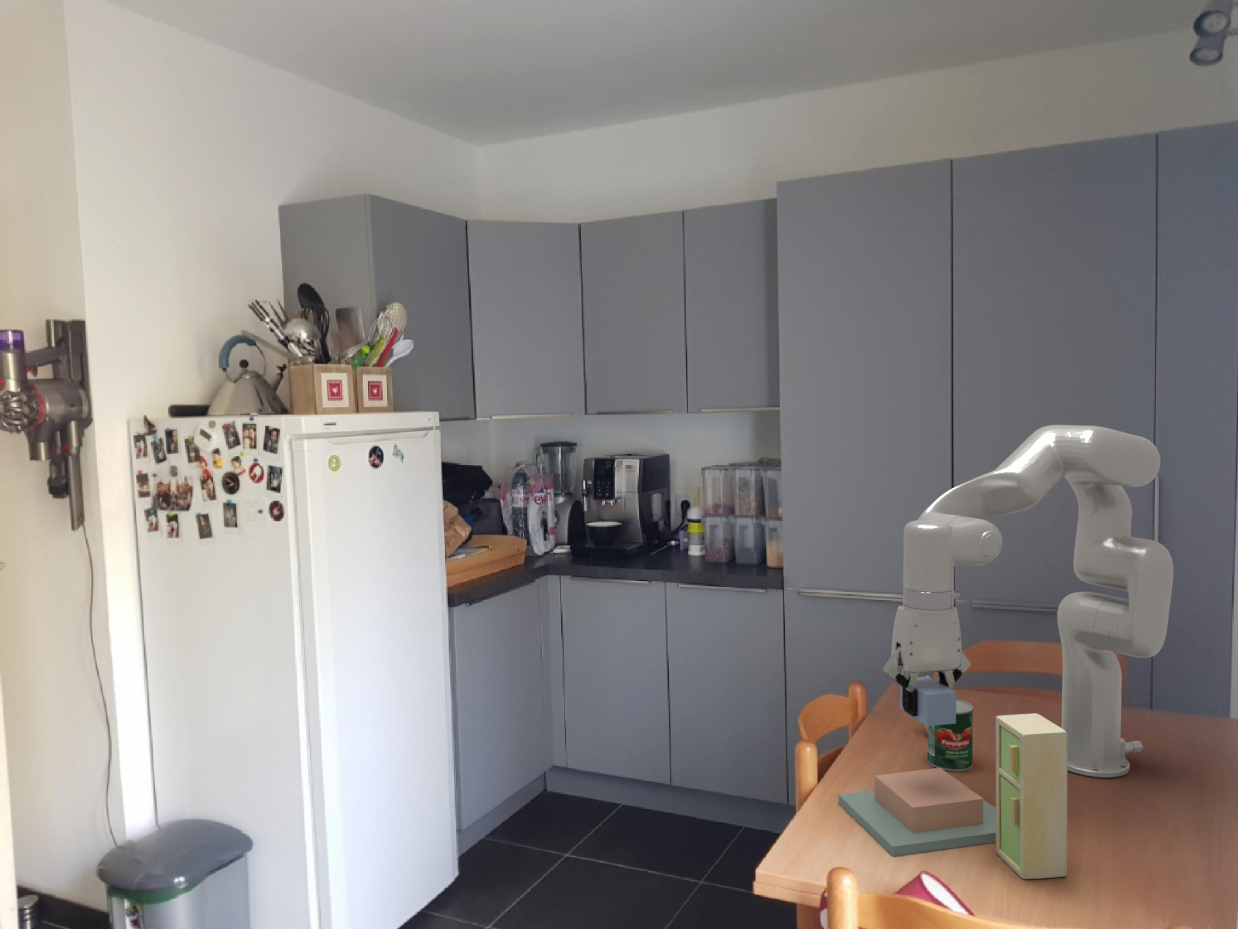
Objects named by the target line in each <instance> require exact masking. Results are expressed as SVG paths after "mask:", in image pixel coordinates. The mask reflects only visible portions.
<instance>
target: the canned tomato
mask: <svg viewBox="0 0 1238 929" xmlns="http://www.w3.org/2000/svg"><path fill="white" fill-rule="evenodd" d="M973 710H974V706H973V705H972V704H971V703H969V702H967V701H965V700H962V699H957V698H956V723H955V724H944V725H934V726H928V732H927V763H928V764H929V765H930V766H932V767H933V768H935V767H936V768H941V769H943V770H944V771H945V770H946V771H947V772H953V771H954V772H966V770H967V771H969V770H971V769H972V768H973V765H974V763H973V759H974V758H973V751H974V750H973V748H974V747H973V744H974V741H973V739H974V736H973V734H974V733H973V731H974V728H973V727H974V726H973V724H974V723H973V722H974V721H973V719H974V712H973ZM946 771H945V772H946Z"/></svg>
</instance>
